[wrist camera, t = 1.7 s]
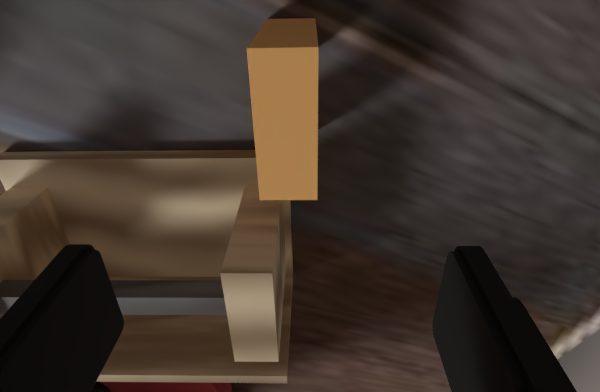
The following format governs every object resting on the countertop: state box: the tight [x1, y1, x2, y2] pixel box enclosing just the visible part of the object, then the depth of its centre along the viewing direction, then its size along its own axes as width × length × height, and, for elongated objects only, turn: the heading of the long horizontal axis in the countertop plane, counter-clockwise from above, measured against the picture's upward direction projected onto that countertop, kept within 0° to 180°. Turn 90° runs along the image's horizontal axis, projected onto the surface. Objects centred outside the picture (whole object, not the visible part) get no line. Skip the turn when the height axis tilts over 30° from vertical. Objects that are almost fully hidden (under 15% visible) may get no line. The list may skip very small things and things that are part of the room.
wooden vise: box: [0, 150, 293, 383], centre depth 30 cm, size 13×23×12 cm, turn 91°
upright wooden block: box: [247, 18, 318, 200], centre depth 24 cm, size 8×3×10 cm, turn 1°
